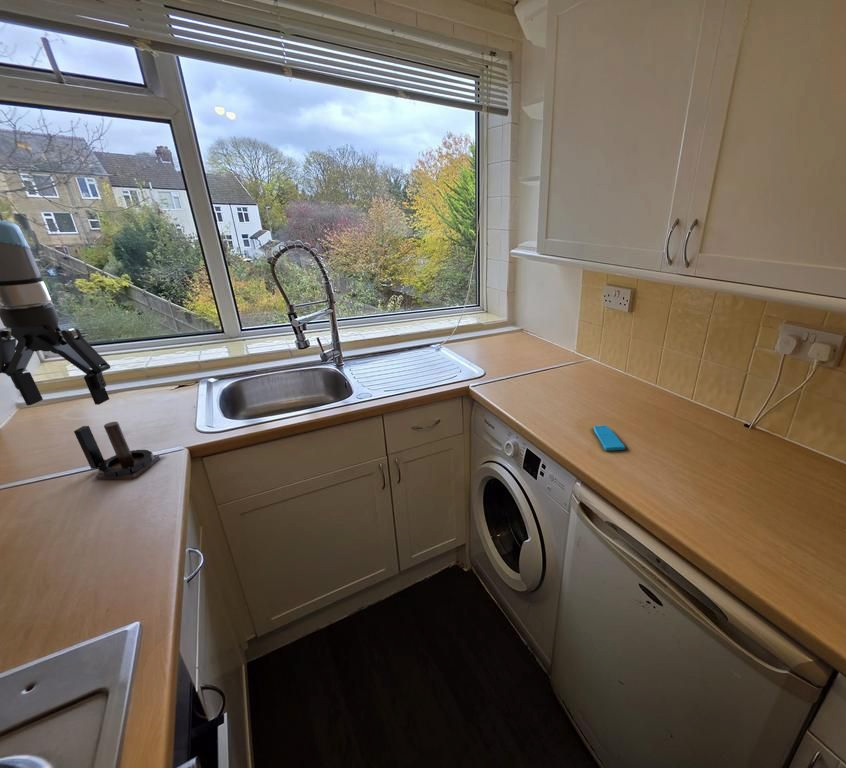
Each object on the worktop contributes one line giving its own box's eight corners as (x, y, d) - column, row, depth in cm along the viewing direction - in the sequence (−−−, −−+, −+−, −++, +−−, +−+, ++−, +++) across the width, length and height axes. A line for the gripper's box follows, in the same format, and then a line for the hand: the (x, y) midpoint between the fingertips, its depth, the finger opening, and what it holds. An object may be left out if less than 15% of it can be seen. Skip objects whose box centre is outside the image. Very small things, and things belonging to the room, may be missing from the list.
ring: (163, 454, 99) (149, 418, 96) (133, 476, 91) (117, 438, 87) (112, 455, 99) (96, 418, 95) (77, 478, 90) (58, 439, 86)
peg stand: (97, 479, 91) (75, 433, 87) (125, 459, 99) (107, 415, 94) (134, 478, 92) (115, 432, 87) (160, 458, 99) (143, 415, 95)
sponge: (612, 425, 118) (593, 423, 117) (627, 447, 107) (606, 446, 106) (611, 430, 118) (592, 428, 117) (625, 452, 107) (604, 451, 106)
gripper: (108, 301, 84) (143, 394, 92) (-23, 300, 82) (24, 395, 90) (75, 309, 77) (116, 409, 85) (-69, 308, 75) (-13, 410, 84)
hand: (69, 402), depth 88 cm, fingers open, 13 cm apart
